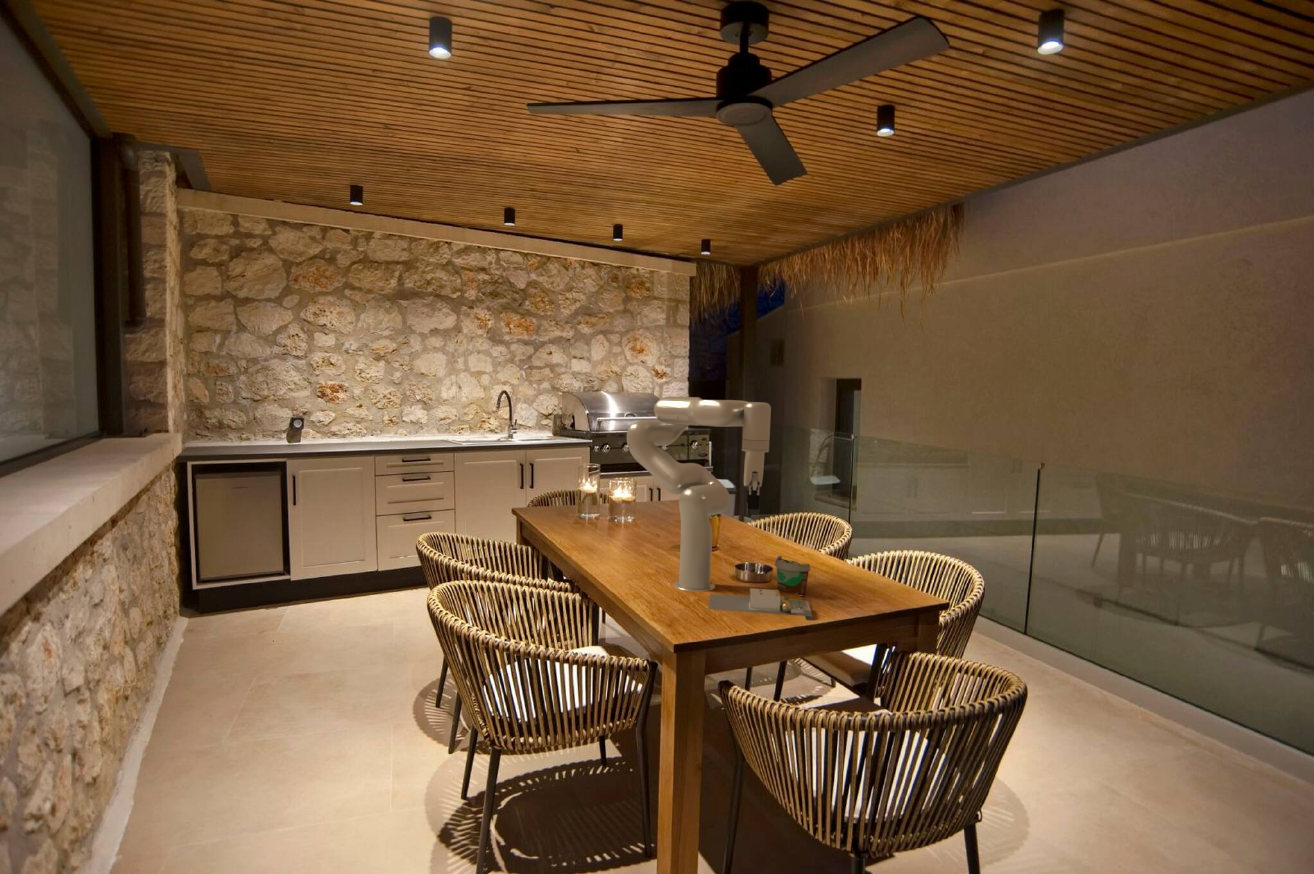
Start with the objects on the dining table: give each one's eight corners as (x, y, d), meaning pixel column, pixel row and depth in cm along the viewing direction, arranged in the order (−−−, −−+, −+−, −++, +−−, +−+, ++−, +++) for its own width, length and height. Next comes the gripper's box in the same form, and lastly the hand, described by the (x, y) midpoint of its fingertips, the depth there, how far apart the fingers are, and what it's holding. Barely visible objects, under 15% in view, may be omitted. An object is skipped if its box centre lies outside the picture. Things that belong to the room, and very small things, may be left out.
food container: (764, 589, 217) (766, 557, 217) (778, 586, 221) (780, 555, 220) (795, 600, 208) (797, 566, 207) (809, 596, 211) (810, 564, 211)
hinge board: (709, 597, 207) (710, 593, 207) (806, 604, 204) (807, 600, 204) (708, 612, 193) (708, 608, 193) (812, 619, 190) (812, 615, 190)
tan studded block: (749, 602, 200) (750, 587, 199) (778, 604, 199) (778, 589, 199) (750, 608, 194) (750, 593, 193) (779, 610, 193) (780, 595, 193)
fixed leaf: (780, 603, 201) (780, 594, 200) (807, 605, 200) (808, 596, 200) (782, 613, 191) (782, 605, 191) (811, 615, 190) (811, 607, 190)
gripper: (741, 443, 207) (739, 500, 209) (742, 448, 190) (739, 510, 192) (767, 444, 207) (764, 502, 208) (770, 449, 190) (767, 512, 191)
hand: (752, 506), depth 200 cm, fingers open, 9 cm apart
